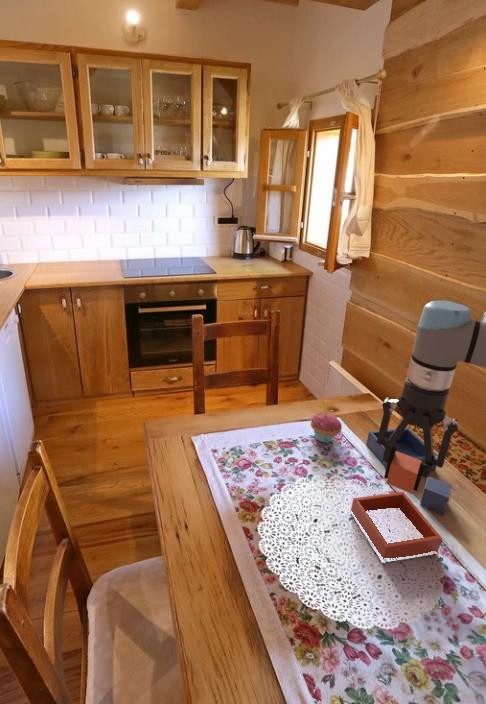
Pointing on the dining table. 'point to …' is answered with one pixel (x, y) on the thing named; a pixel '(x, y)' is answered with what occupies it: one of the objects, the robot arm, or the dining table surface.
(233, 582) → the dining table surface
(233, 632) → the dining table surface
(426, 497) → the slate block
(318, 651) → the dining table surface
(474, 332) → the robot arm
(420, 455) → the slate bin
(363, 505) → the terracotta bin
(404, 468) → the terracotta block
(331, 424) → the cupcake
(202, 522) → the dining table surface
